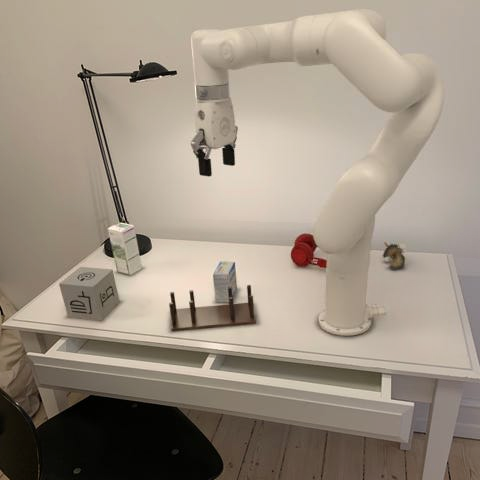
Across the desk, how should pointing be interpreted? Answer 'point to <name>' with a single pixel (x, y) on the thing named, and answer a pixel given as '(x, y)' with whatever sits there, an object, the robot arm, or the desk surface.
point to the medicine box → (224, 280)
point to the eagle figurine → (395, 255)
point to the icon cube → (89, 293)
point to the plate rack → (212, 314)
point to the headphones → (306, 252)
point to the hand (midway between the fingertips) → (217, 170)
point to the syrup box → (125, 248)
